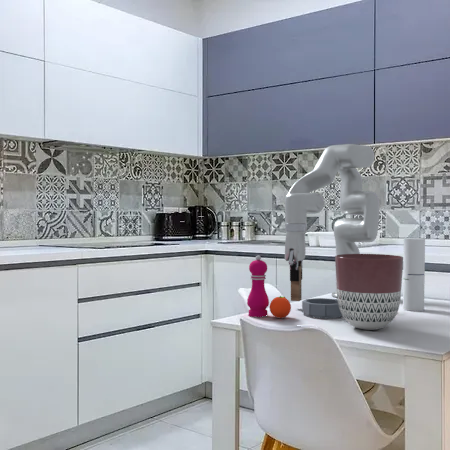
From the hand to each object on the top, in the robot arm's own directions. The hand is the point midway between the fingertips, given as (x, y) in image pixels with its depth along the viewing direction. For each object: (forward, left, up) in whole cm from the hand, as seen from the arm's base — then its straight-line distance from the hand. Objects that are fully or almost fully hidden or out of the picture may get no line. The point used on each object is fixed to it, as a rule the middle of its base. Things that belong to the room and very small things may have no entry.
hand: (296, 280), depth 206 cm
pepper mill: (+18, -7, -10) cm, 22 cm away
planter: (+23, +30, -10) cm, 39 cm away
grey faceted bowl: (+7, +12, -10) cm, 17 cm away
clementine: (+18, +1, -10) cm, 21 cm away
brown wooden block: (0, 0, -7) cm, 7 cm away
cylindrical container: (-17, +38, -10) cm, 43 cm away
